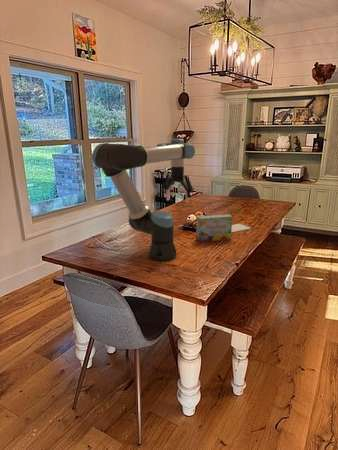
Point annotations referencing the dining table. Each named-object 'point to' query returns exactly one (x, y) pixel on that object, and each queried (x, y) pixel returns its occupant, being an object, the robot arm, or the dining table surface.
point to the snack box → (214, 227)
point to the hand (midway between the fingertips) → (177, 201)
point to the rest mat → (239, 227)
